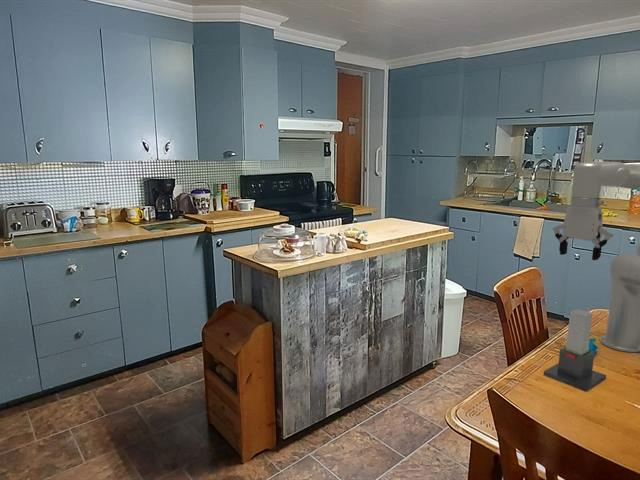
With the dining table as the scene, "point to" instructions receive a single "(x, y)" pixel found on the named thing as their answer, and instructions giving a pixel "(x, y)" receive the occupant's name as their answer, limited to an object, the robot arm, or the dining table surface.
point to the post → (579, 332)
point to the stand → (575, 370)
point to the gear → (593, 345)
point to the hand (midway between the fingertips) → (578, 256)
